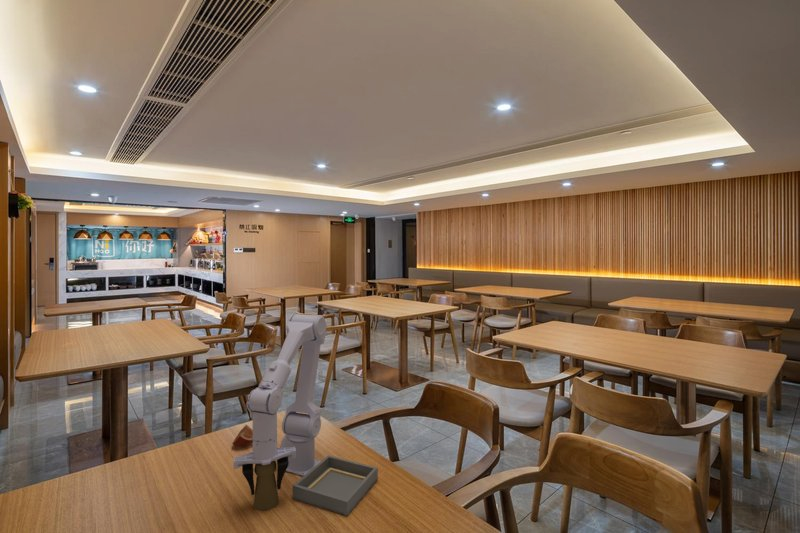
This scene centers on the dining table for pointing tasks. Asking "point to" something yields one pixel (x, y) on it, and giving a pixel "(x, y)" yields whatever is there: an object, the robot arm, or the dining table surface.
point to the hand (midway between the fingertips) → (265, 489)
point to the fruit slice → (244, 437)
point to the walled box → (335, 484)
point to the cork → (265, 487)
